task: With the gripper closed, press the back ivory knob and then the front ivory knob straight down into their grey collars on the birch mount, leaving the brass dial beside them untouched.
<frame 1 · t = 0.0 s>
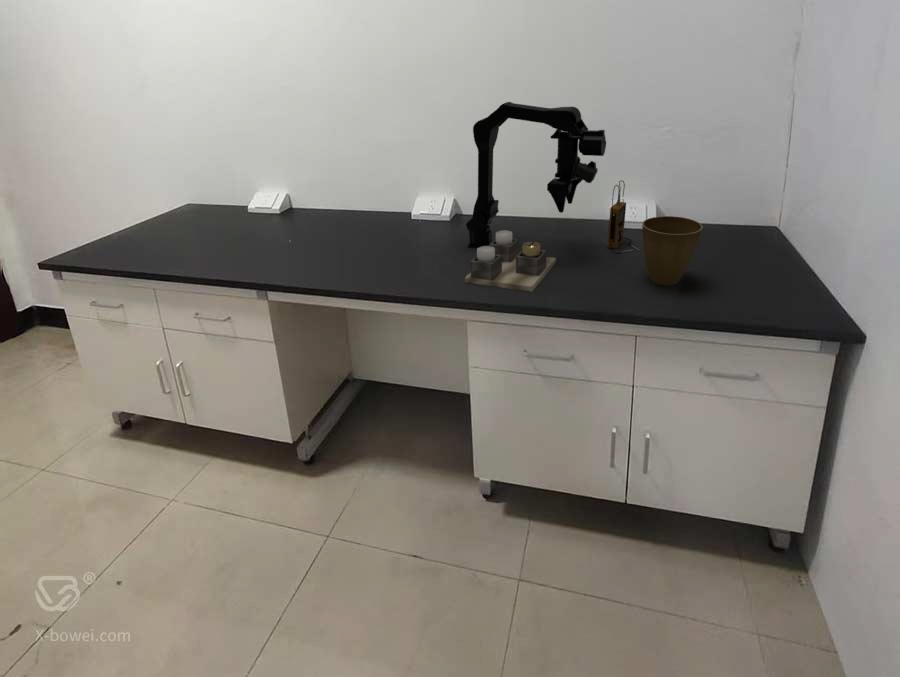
hand: (565, 207, 178), 15 cm above the worktop, tool pointing down, fingers open, 9 cm apart
mount: (511, 272, 175), on the worktop
brass dial: (531, 252, 169), point 7 cm above the worktop, slide at 0.0 cm
multimeter: (626, 247, 188), on the worktop
knob back: (504, 241, 179), point 7 cm above the worktop, slide at 0.0 cm
knob front: (486, 257, 168), point 7 cm above the worktop, slide at 0.0 cm
plant pot: (664, 281, 164), on the worktop
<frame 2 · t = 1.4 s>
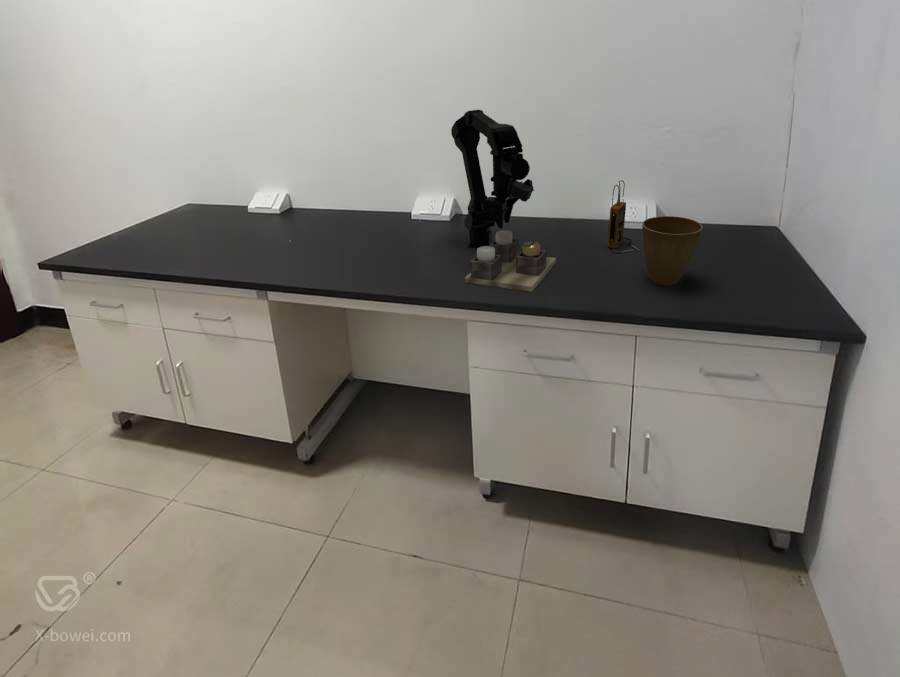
hand: (503, 225, 177), 11 cm above the worktop, tool pointing down, fingers open, 5 cm apart
nothing on the worktop moved.
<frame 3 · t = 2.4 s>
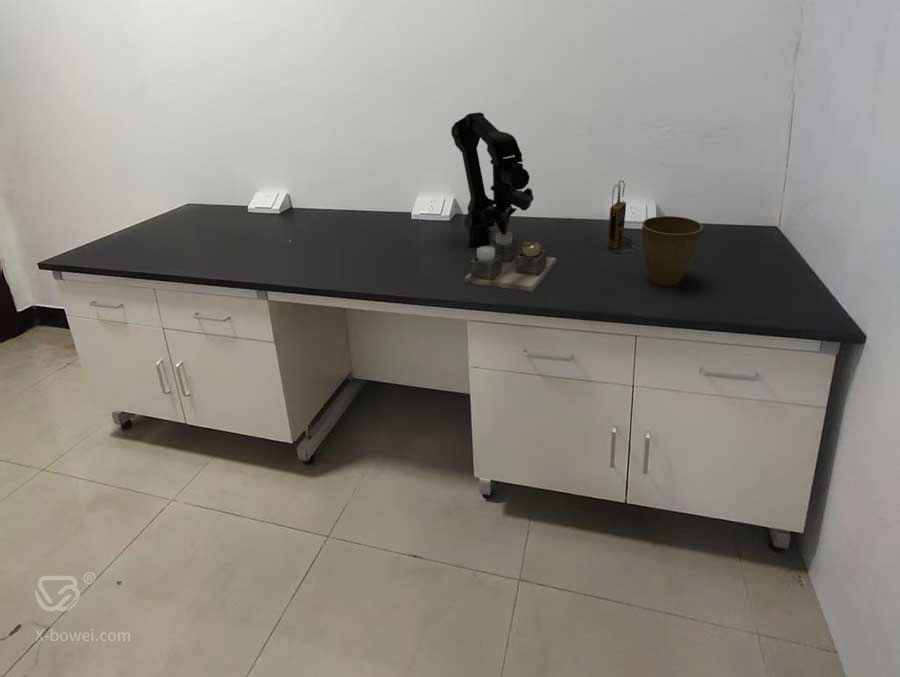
hand: (503, 233, 178), 9 cm above the worktop, tool pointing down, fingers closed, pressing on knob back
knob back: (504, 241, 179), point 6 cm above the worktop, slide at 0.3 cm, touching gripper
everything else where it was.
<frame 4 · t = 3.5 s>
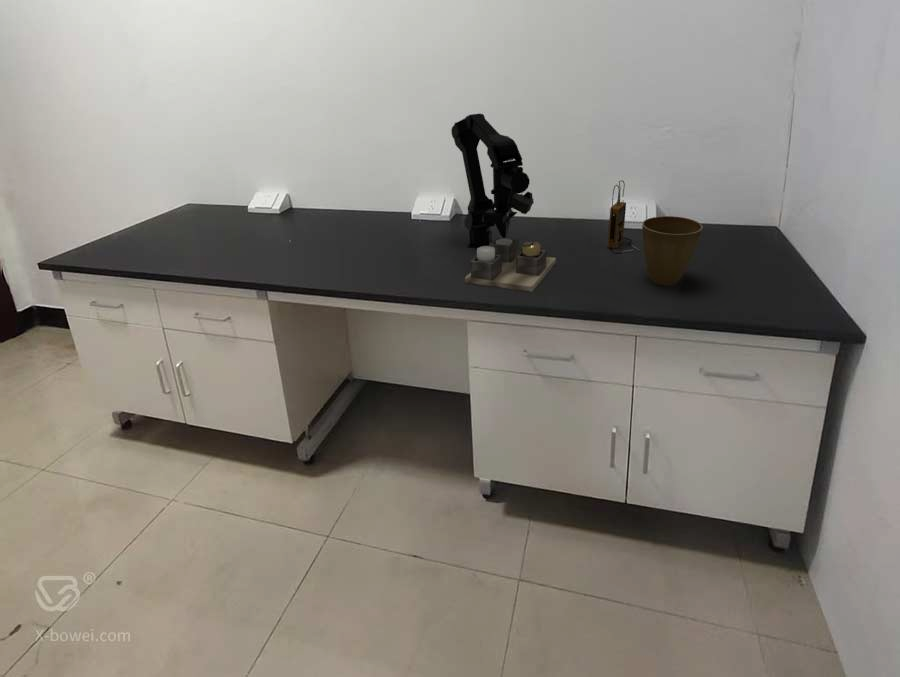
hand: (504, 237, 178), 8 cm above the worktop, tool pointing down, fingers closed
knob back: (504, 249, 180), point 4 cm above the worktop, slide at 2.6 cm
everything else where it was.
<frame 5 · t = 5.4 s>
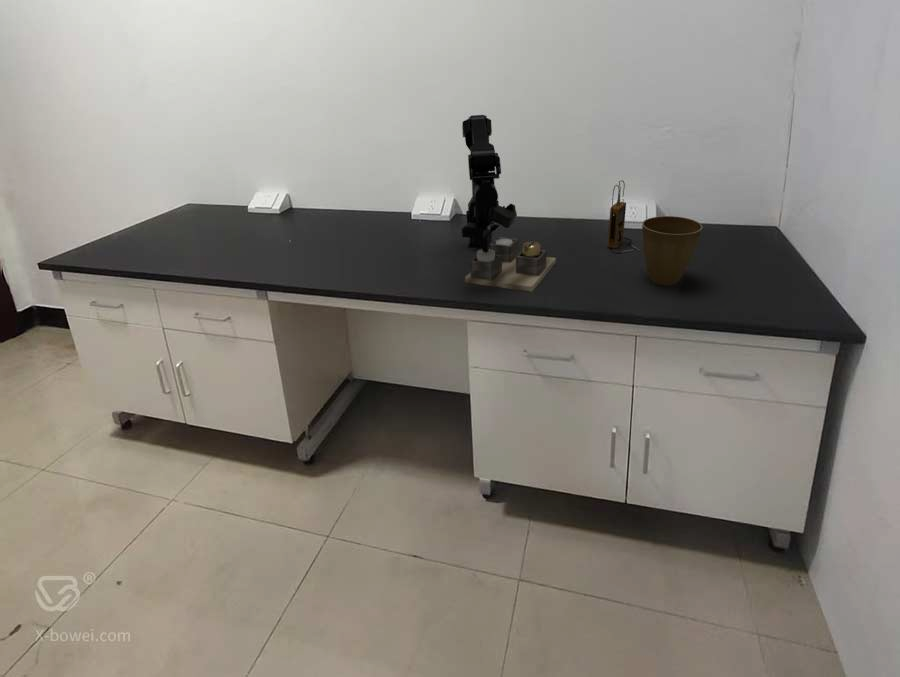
hand: (485, 251, 167), 8 cm above the worktop, tool pointing down, fingers closed, pressing on knob front
knob front: (486, 260, 169), point 6 cm above the worktop, slide at 0.9 cm, touching gripper
everything else where it was.
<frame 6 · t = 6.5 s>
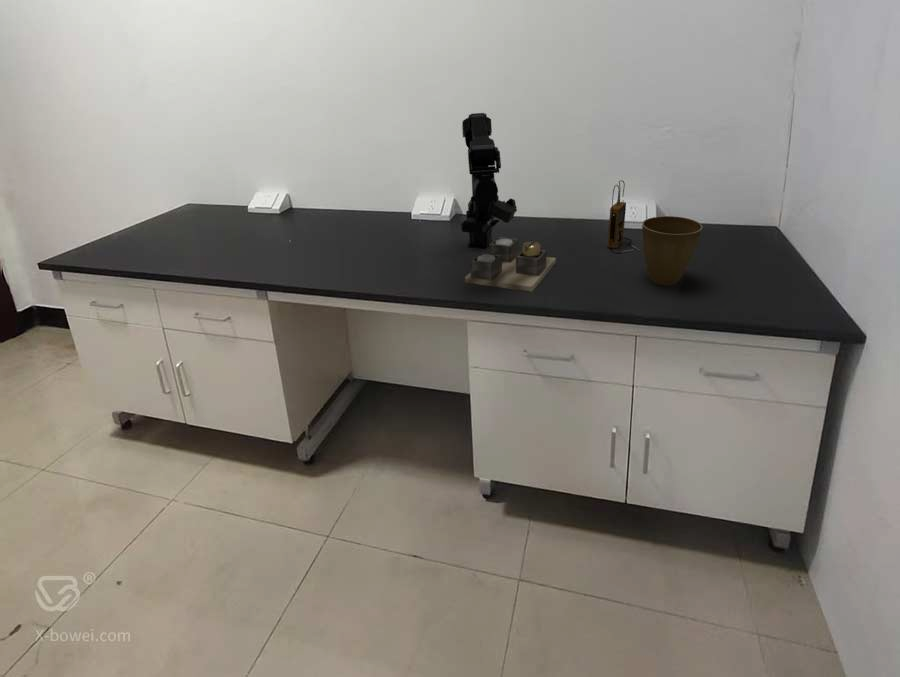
hand: (485, 247, 166), 10 cm above the worktop, tool pointing down, fingers closed
knob front: (486, 266, 169), point 4 cm above the worktop, slide at 2.6 cm
everything else where it was.
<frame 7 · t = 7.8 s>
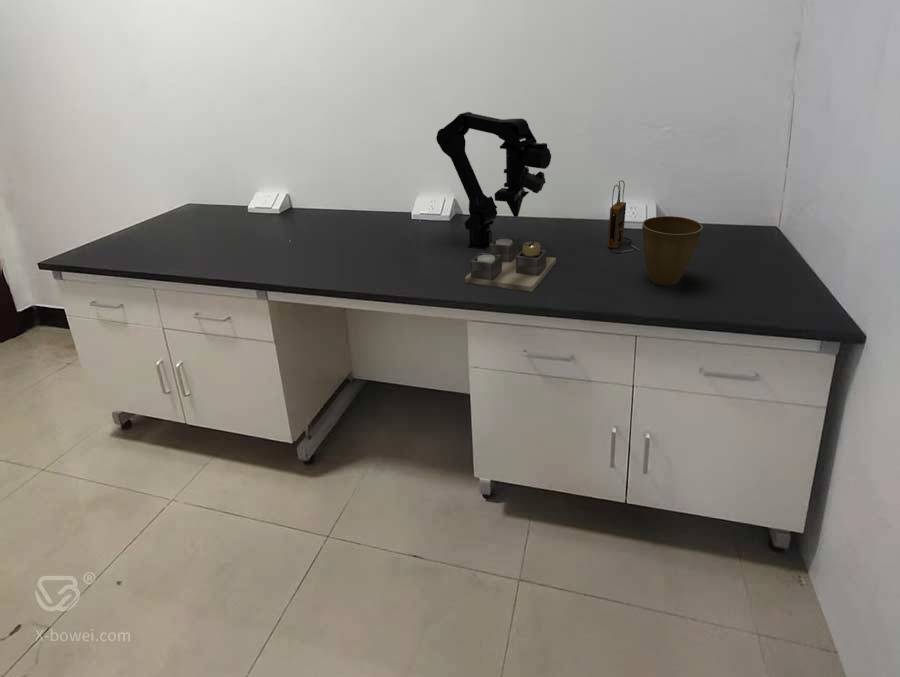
hand: (516, 216, 182), 12 cm above the worktop, tool pointing down, fingers closed
nothing on the worktop moved.
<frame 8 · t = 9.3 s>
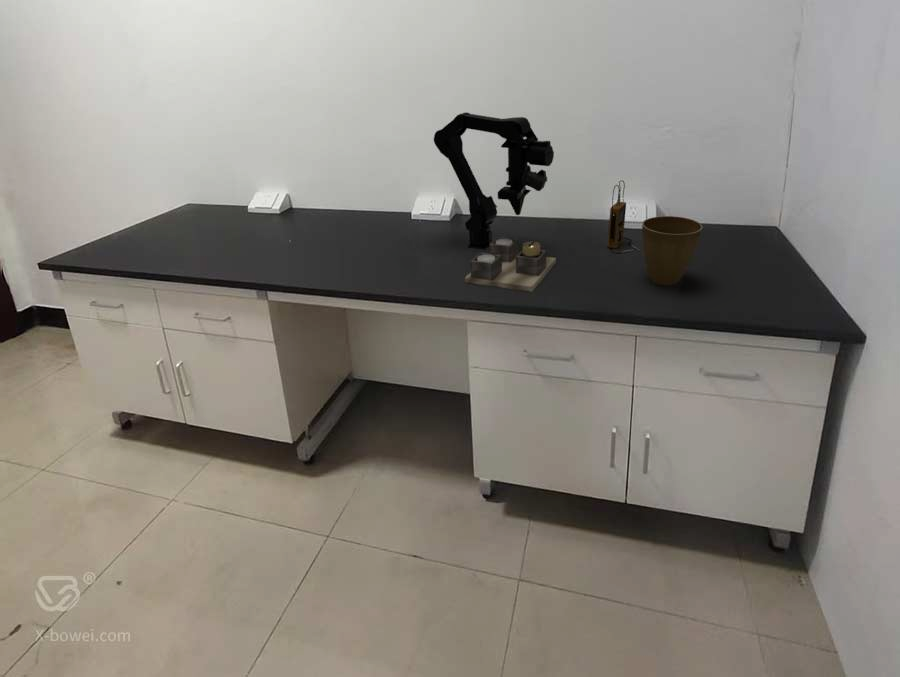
hand: (518, 214, 183), 12 cm above the worktop, tool pointing down, fingers closed
nothing on the worktop moved.
at the end: knob back slide at 2.6 cm; knob front slide at 2.6 cm; brass dial slide at 0.0 cm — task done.
